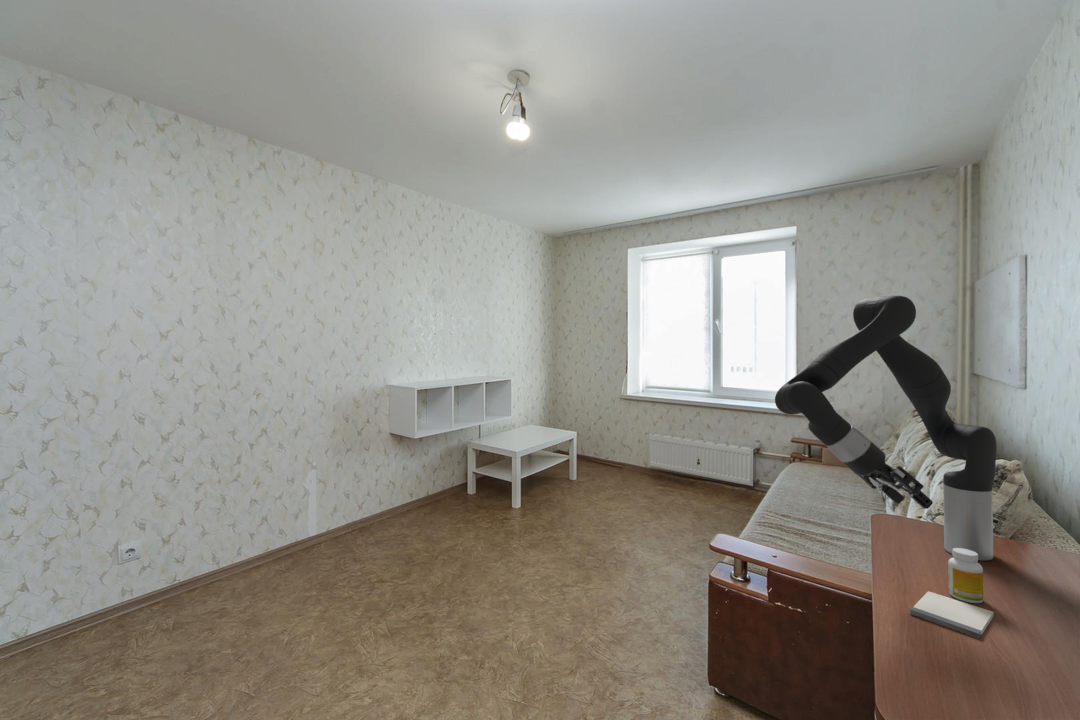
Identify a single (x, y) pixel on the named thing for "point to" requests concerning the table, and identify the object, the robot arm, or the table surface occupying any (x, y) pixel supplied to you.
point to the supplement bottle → (965, 576)
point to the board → (952, 614)
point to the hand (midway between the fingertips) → (914, 503)
